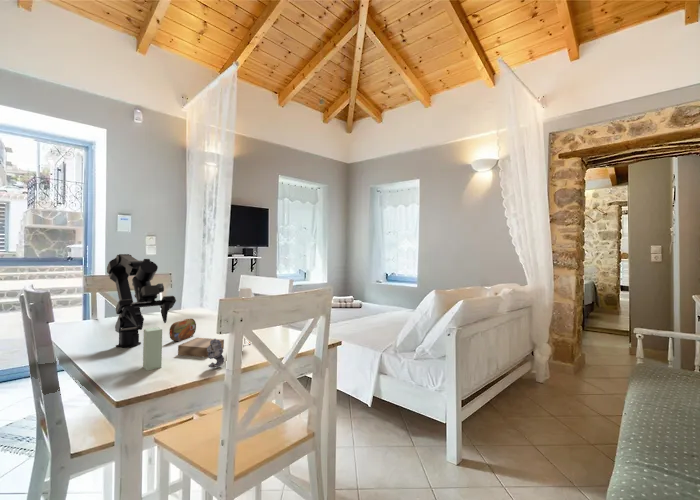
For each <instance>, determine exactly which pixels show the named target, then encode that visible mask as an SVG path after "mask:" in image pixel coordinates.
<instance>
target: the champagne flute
mask: <svg viewBox="0 0 700 500" xmlns="http://www.w3.org/2000/svg"><path fill="white" fill-rule="evenodd" d="M239 297H252V298H253V293H252V287H240V288H239V292H238V298H239ZM247 340H248V339H247V338H246V339H245V338H244V344H246V343H249V342H248V341H249V340H248V341H247ZM249 344H250V343H249Z"/></svg>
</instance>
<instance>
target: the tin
mask: <svg viewBox="0 0 700 500" xmlns="http://www.w3.org/2000/svg"><path fill="white" fill-rule="evenodd" d="M196 330H197V323H196V321H195V319H193V318H185V319H181V320H179V321H178V320H177V321H174V322H173V323H172V324H171V325H170V327H169V334H168V335H169V338H170V340H172V341H173V342H182V341H183V340H186V339H188V338H189V339H190V338H191V337H193V336H194V335H195V333H196Z"/></svg>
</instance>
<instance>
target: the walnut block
mask: <svg viewBox="0 0 700 500" xmlns="http://www.w3.org/2000/svg"><path fill="white" fill-rule="evenodd" d="M214 339H215V338H207V337H195V338H192V339H190V340H188V341H185V342H183V343H181V344H178V345H177V346H178V347H177V355H178V356H187V357H198V358H199V357H200V358H208V353H209V352H208V351H207V348H208V347H209V346H210V341H211V340H214ZM216 340H220V343H221V344H222V346H221V348H222V349H223V350H224V348H225V346H224V344H225V339H222V338H216Z"/></svg>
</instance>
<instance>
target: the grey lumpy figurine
mask: <svg viewBox="0 0 700 500" xmlns="http://www.w3.org/2000/svg"><path fill="white" fill-rule="evenodd" d="M213 339H214V340H211V341H210V346H209V347H208V348H207V351H208V352H209V353H208V357H207V358H208V359H210V360H212V359H214V360H216V363H214V362H213V361H212V362H211V363H210V364H208V365H207V366H208V368H210V369H211V368H212V369H213V368H220V367H221V366H222V365H223V364H224V362H225V357H224V355H223V353H224V348H223V349H222V348H221V346H222V344H221V343H220V340H216V339H217V338H213Z"/></svg>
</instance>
